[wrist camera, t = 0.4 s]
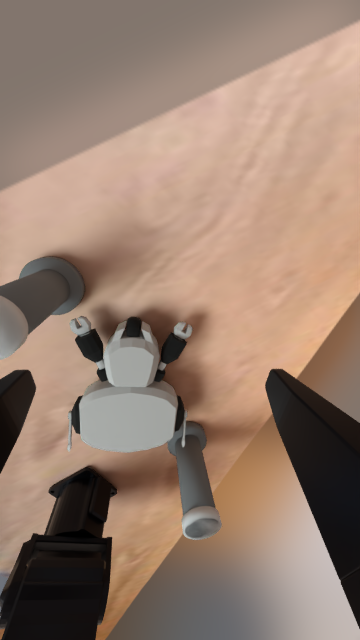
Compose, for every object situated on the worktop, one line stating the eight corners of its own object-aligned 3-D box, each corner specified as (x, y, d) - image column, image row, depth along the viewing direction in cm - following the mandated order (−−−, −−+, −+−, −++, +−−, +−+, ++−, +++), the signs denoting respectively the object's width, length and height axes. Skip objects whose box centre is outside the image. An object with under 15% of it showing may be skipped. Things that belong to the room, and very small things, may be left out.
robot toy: (73, 305, 23) (78, 427, 27) (55, 319, 18) (65, 461, 23) (193, 312, 25) (179, 425, 29) (202, 326, 20) (185, 456, 25)
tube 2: (179, 454, 31) (192, 550, 22) (159, 433, 29) (164, 528, 20) (210, 437, 31) (237, 528, 21) (193, 415, 29) (213, 503, 20)
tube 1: (53, 319, 22) (-16, 386, 13) (12, 276, 20) (-104, 317, 11) (96, 292, 21) (56, 342, 12) (58, 245, 19) (-22, 261, 10)
